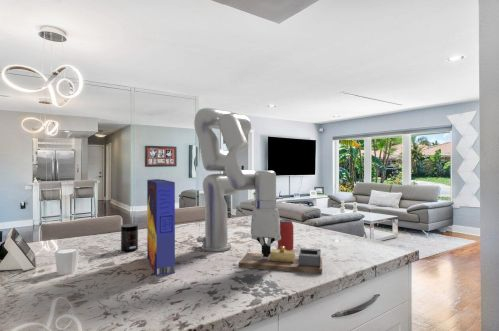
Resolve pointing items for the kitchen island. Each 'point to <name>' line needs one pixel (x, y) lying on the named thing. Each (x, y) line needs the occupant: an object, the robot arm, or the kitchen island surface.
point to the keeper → (310, 257)
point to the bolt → (282, 255)
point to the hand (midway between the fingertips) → (266, 255)
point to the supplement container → (129, 237)
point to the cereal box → (161, 226)
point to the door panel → (276, 264)
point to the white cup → (66, 261)
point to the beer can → (286, 234)
